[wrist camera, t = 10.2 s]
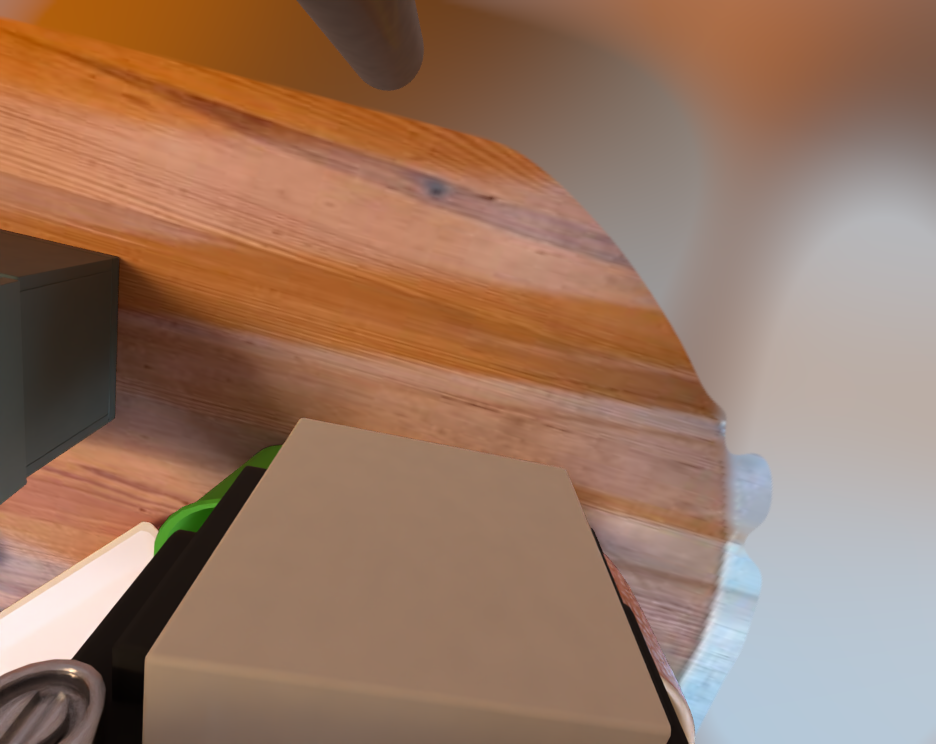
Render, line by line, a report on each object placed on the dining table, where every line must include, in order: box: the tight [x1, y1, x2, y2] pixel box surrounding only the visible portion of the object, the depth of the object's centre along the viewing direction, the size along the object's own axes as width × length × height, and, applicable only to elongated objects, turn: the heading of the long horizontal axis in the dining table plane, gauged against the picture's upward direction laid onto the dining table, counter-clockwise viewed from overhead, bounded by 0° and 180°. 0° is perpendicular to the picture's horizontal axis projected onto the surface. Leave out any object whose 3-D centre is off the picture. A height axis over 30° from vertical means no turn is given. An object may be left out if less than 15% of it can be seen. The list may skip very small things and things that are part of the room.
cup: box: [154, 445, 283, 556], centre depth 36 cm, size 9×9×11 cm
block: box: [142, 418, 671, 744], centre depth 8 cm, size 5×5×5 cm
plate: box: [0, 522, 159, 676], centre depth 47 cm, size 26×26×2 cm
